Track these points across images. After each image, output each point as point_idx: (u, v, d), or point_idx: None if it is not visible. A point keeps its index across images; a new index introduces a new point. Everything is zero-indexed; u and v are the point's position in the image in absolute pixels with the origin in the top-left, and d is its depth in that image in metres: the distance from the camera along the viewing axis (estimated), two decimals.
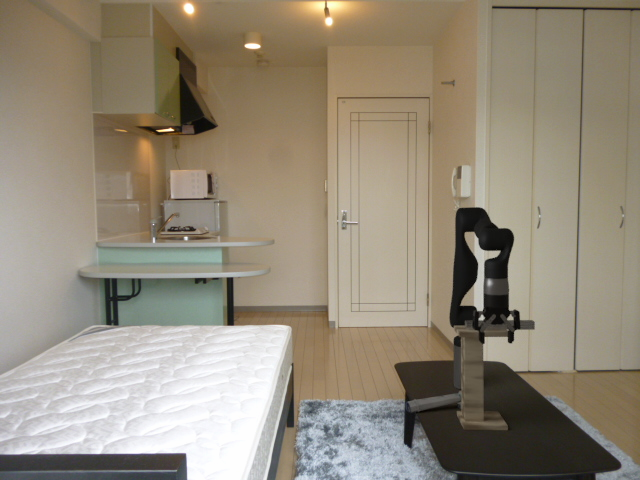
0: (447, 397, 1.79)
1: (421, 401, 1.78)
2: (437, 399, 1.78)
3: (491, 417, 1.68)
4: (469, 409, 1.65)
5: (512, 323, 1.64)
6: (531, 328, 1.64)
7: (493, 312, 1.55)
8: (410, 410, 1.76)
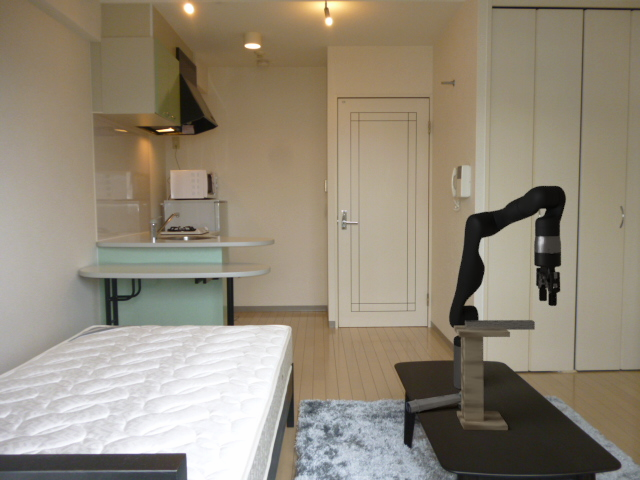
0: (448, 397, 1.79)
1: (422, 401, 1.77)
2: (438, 399, 1.78)
3: (491, 417, 1.68)
4: (469, 409, 1.65)
5: (512, 323, 1.64)
6: (531, 328, 1.64)
7: None
8: (410, 410, 1.76)
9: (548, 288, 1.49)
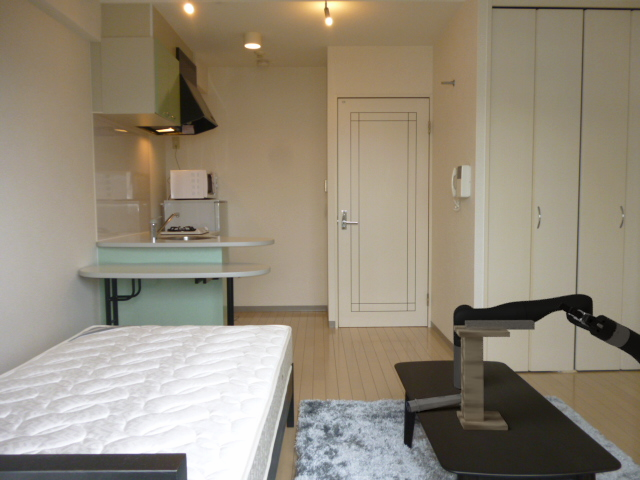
0: (448, 398, 1.79)
1: (422, 401, 1.78)
2: (438, 399, 1.78)
3: (491, 417, 1.68)
4: (469, 409, 1.65)
5: (512, 323, 1.64)
6: (531, 328, 1.64)
7: None
8: (410, 410, 1.77)
9: (587, 314, 1.59)
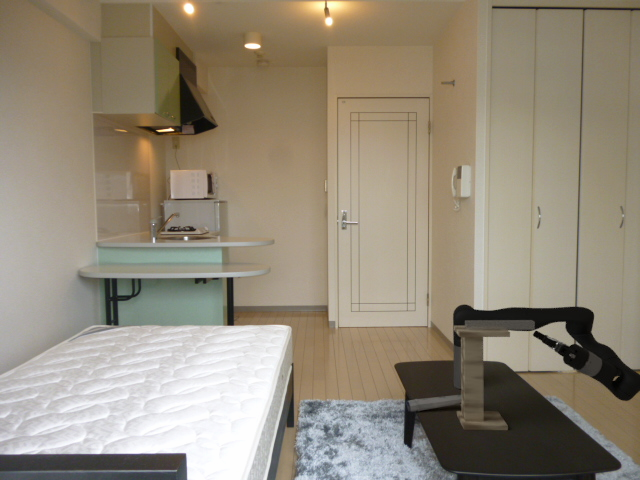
0: (449, 398, 1.78)
1: (422, 401, 1.78)
2: (438, 400, 1.78)
3: (491, 417, 1.68)
4: (469, 409, 1.65)
5: (512, 323, 1.64)
6: (531, 328, 1.64)
7: None
8: (410, 409, 1.77)
9: (560, 344, 1.60)
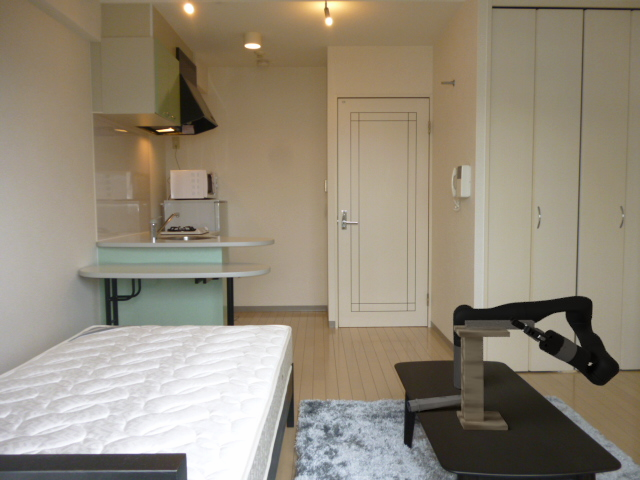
0: (449, 398, 1.78)
1: (422, 401, 1.78)
2: (439, 400, 1.78)
3: (491, 417, 1.68)
4: (469, 409, 1.65)
5: None
6: None
7: None
8: (410, 409, 1.77)
9: (529, 326, 1.63)
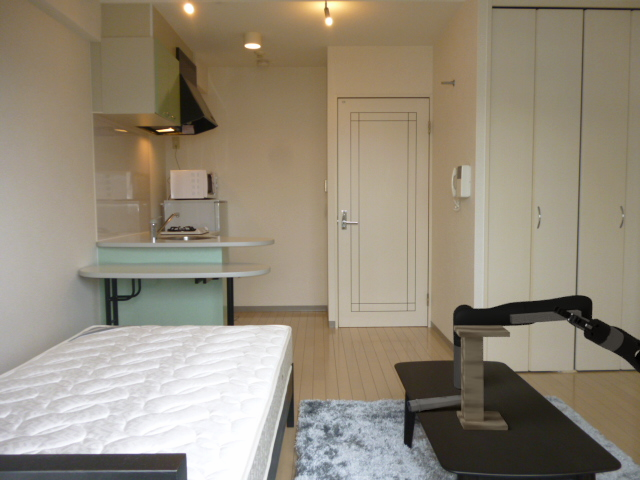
0: (450, 398, 1.78)
1: (422, 401, 1.78)
2: (439, 400, 1.78)
3: (491, 417, 1.68)
4: (469, 409, 1.65)
5: (558, 314, 1.63)
6: None
7: None
8: (411, 409, 1.77)
9: (575, 315, 1.62)
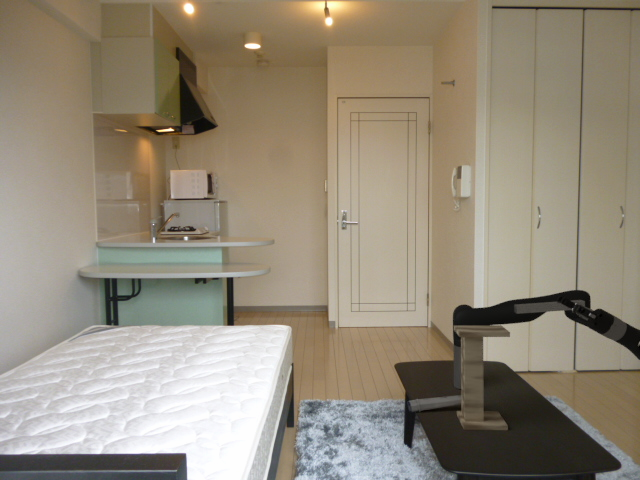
0: (450, 398, 1.78)
1: (423, 401, 1.78)
2: (439, 400, 1.78)
3: (491, 417, 1.68)
4: (469, 409, 1.65)
5: (562, 304, 1.65)
6: None
7: (589, 319, 1.64)
8: (411, 409, 1.77)
9: None
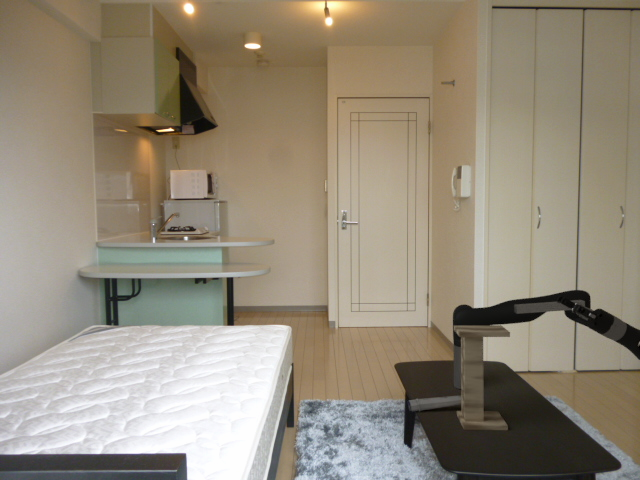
0: (450, 398, 1.78)
1: (423, 401, 1.78)
2: (439, 400, 1.78)
3: (491, 417, 1.68)
4: (469, 409, 1.65)
5: (562, 304, 1.65)
6: None
7: (589, 319, 1.64)
8: (411, 409, 1.77)
9: None
